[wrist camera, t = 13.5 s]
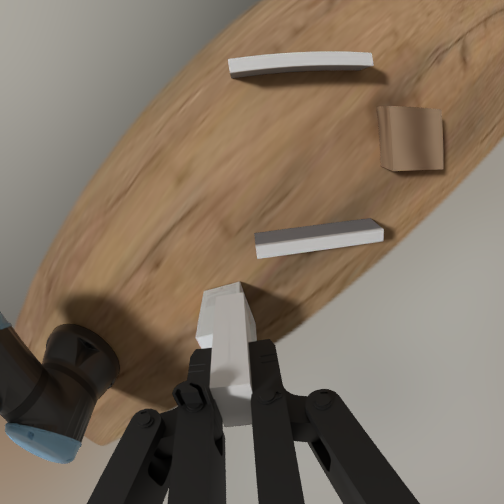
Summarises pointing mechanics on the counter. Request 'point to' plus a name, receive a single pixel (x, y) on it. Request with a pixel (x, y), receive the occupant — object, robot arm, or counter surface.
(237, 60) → the corridor walls
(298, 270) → the counter surface
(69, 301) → the counter surface
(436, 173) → the counter surface
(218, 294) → the small box
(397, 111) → the walnut block
